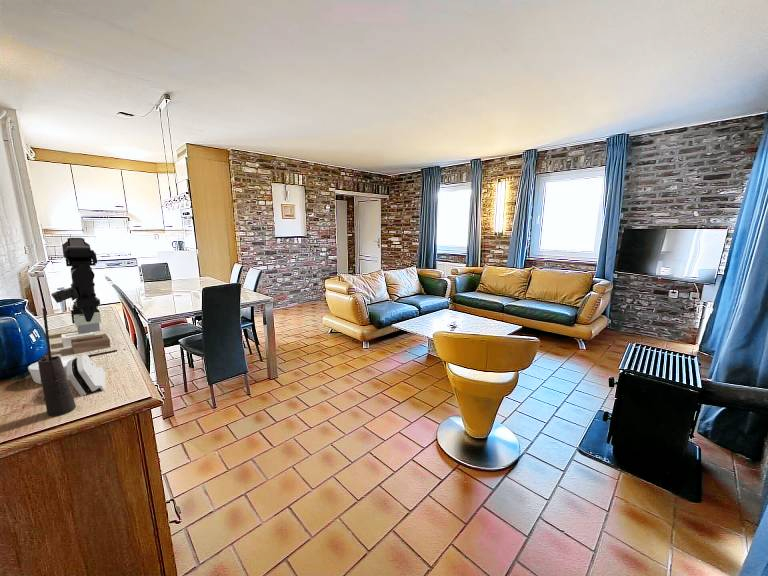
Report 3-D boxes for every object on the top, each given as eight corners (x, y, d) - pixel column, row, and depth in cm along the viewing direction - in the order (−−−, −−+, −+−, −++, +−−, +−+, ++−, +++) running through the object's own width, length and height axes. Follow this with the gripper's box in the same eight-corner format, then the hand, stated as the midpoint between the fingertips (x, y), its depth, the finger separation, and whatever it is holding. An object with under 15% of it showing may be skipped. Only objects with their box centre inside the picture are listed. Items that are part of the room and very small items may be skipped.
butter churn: (33, 409, 80) (16, 304, 75) (84, 397, 86) (71, 300, 82) (29, 425, 73) (10, 312, 69) (84, 410, 80) (70, 306, 76)
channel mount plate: (66, 350, 119) (64, 338, 118) (110, 343, 129) (109, 331, 128) (70, 360, 110) (68, 347, 109) (117, 351, 120) (115, 339, 119)
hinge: (104, 391, 90) (85, 363, 86) (84, 400, 87) (63, 373, 84) (105, 371, 102) (88, 347, 99) (87, 379, 100) (69, 354, 96)
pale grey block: (75, 332, 116) (73, 315, 115) (100, 329, 122) (98, 312, 121) (77, 334, 114) (74, 316, 113) (102, 331, 119) (100, 313, 118)
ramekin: (81, 378, 97) (79, 363, 96) (28, 390, 89) (25, 373, 89) (81, 367, 105) (79, 353, 104) (32, 377, 97) (30, 361, 97)
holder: (62, 346, 123) (61, 334, 122) (93, 341, 130) (91, 330, 129) (64, 350, 119) (62, 338, 118) (95, 345, 125) (94, 333, 125)
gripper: (49, 279, 115) (55, 319, 117) (53, 285, 103) (59, 330, 105) (90, 277, 123) (95, 314, 126) (98, 282, 111) (102, 324, 114)
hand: (87, 320), depth 117 cm, fingers closed on pale grey block, 4 cm apart
